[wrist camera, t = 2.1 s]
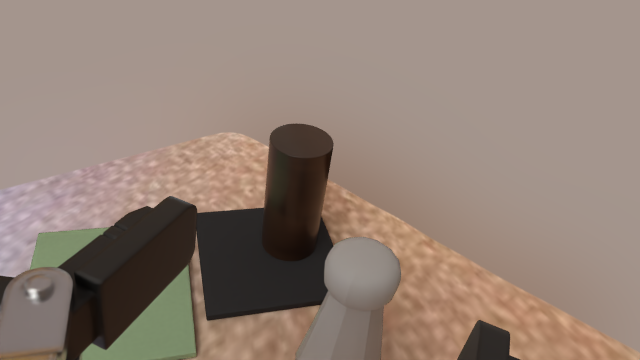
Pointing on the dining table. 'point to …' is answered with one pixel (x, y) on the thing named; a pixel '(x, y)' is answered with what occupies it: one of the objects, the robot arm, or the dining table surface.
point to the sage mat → (153, 323)
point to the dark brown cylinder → (295, 190)
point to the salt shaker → (352, 302)
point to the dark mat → (254, 267)
